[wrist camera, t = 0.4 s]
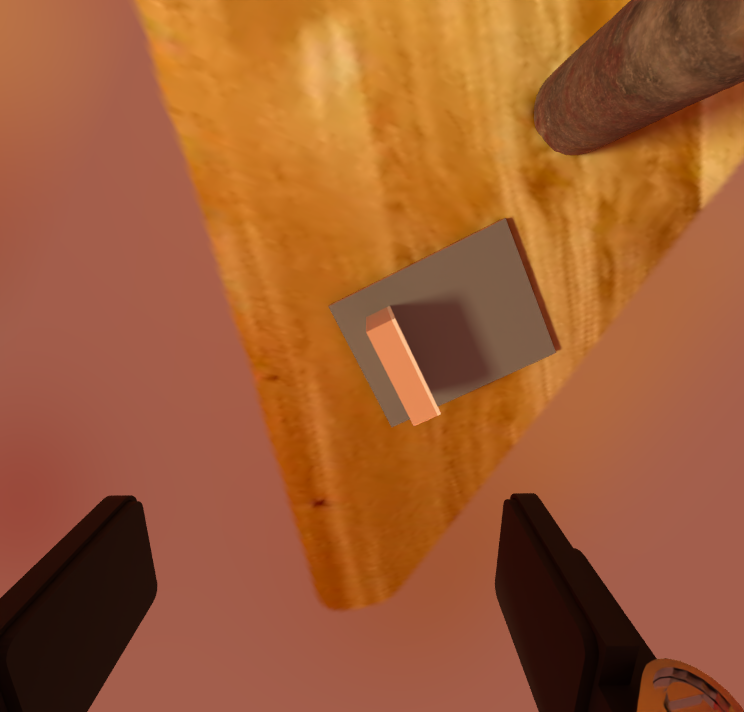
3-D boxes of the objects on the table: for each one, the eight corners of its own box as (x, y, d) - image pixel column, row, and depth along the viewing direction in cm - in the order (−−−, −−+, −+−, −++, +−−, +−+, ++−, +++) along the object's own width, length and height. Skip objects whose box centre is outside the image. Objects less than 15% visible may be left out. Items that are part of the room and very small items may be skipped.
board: (501, 218, 36) (505, 218, 35) (551, 350, 39) (556, 352, 38) (329, 304, 38) (328, 306, 37) (391, 423, 41) (391, 427, 40)
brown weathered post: (607, 43, 32) (959, -256, 13) (629, 133, 34) (967, -16, 15) (520, 87, 33) (733, -138, 14) (546, 172, 35) (767, 78, 16)
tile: (389, 305, 37) (395, 318, 30) (428, 385, 39) (441, 414, 32) (366, 317, 37) (366, 332, 31) (405, 395, 39) (413, 426, 33)
